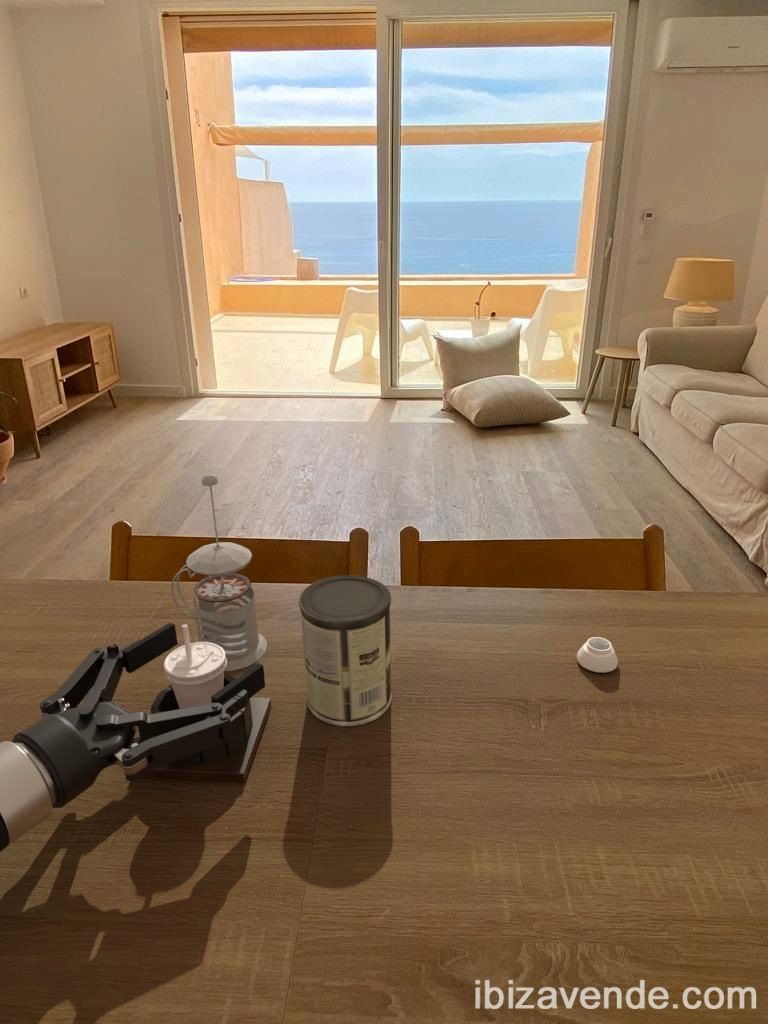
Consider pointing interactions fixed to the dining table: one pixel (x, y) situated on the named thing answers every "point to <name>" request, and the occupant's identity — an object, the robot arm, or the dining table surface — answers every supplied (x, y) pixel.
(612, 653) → the upturned white bowl
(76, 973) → the dining table surface
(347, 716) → the coffee can
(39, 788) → the robot arm
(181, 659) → the smoothie
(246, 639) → the french press
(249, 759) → the cup holder
